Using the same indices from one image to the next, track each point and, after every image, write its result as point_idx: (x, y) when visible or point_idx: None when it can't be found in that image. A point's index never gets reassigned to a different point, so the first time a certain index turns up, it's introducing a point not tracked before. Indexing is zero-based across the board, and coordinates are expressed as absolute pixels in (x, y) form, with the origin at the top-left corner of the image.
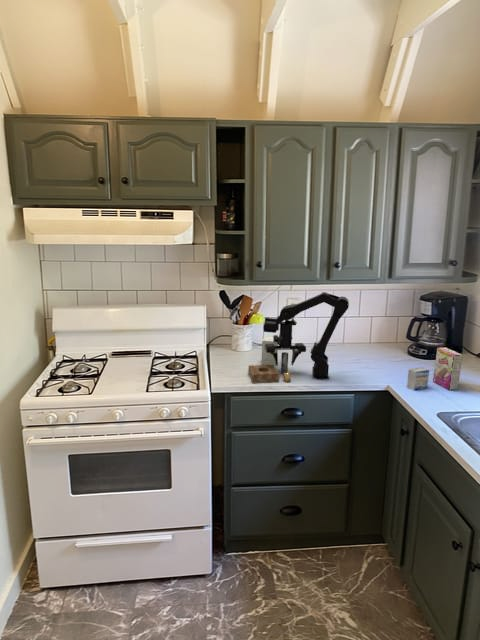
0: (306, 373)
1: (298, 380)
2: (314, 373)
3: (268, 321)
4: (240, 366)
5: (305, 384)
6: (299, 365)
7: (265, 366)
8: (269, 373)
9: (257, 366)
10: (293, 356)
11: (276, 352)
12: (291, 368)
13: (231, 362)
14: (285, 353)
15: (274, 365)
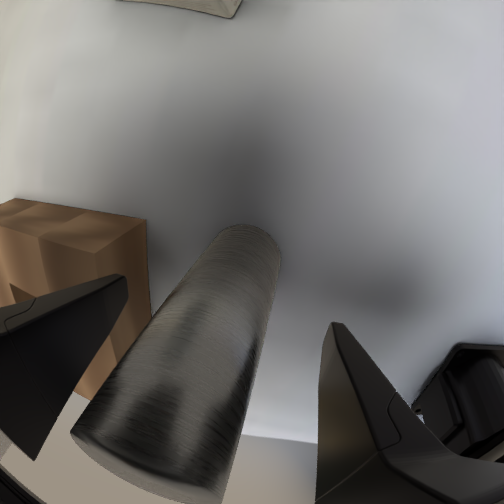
0: (441, 314)
1: (295, 402)
2: (424, 418)
3: None
4: (6, 64)
5: (302, 438)
6: (496, 97)
7: (38, 272)
8: (81, 391)
9: (2, 251)
10: (330, 472)
11: (9, 438)
12: (393, 139)
13: (4, 11)
14: (152, 484)
15: (219, 15)
